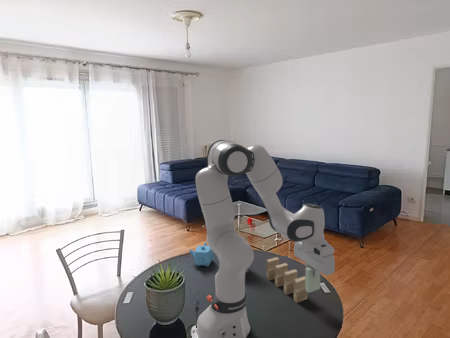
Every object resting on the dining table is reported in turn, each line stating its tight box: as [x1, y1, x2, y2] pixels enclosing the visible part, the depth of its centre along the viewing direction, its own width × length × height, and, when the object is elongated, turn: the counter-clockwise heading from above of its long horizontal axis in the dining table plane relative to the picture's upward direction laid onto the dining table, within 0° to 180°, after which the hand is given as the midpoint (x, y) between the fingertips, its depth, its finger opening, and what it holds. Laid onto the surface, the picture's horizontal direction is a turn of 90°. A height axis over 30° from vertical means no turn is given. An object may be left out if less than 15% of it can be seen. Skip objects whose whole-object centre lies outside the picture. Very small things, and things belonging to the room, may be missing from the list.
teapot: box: [188, 240, 215, 268], centre depth 170 cm, size 18×14×10 cm
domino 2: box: [274, 262, 289, 288], centre depth 146 cm, size 2×6×10 cm, turn 116°
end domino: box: [304, 266, 321, 294], centre depth 126 cm, size 2×6×10 cm, turn 116°
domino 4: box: [293, 275, 309, 304], centre depth 133 cm, size 2×6×10 cm, turn 116°
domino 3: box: [283, 268, 298, 295], centre depth 140 cm, size 2×6×10 cm, turn 116°
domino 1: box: [266, 256, 280, 281], centre depth 152 cm, size 2×6×10 cm, turn 116°
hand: (312, 275), depth 126 cm, fingers closed on end domino, 2 cm apart
